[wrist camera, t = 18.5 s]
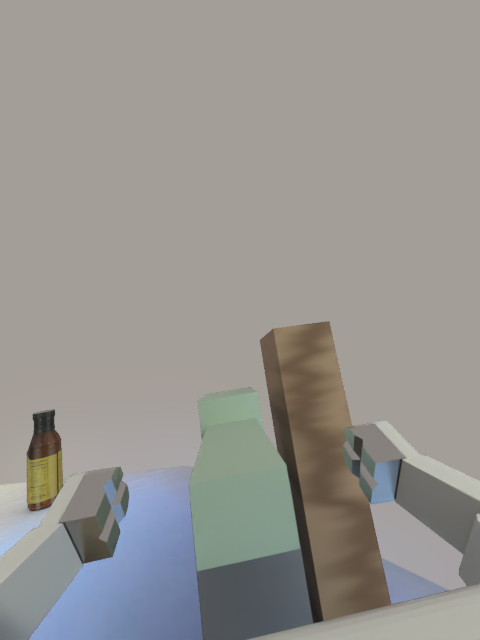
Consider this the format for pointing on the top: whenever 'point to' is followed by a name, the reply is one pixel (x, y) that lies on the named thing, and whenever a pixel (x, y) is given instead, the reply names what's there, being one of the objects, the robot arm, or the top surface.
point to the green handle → (238, 485)
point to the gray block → (254, 597)
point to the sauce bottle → (44, 462)
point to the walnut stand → (322, 472)
